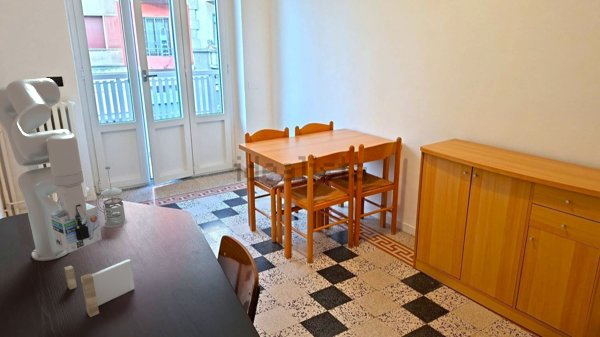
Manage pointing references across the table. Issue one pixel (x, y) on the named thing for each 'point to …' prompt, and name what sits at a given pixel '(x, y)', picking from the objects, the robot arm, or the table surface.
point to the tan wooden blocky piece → (84, 289)
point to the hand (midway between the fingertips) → (78, 234)
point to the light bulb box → (66, 229)
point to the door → (113, 281)
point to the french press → (116, 218)
